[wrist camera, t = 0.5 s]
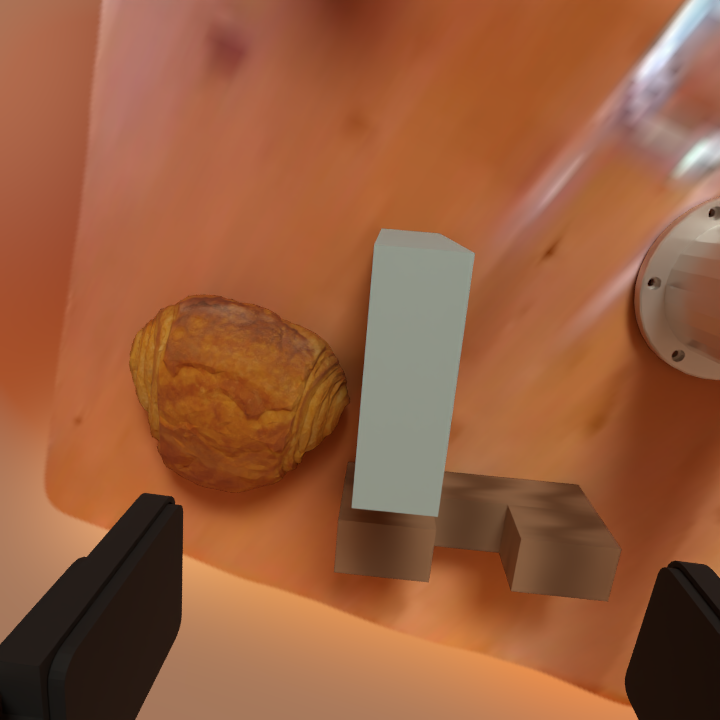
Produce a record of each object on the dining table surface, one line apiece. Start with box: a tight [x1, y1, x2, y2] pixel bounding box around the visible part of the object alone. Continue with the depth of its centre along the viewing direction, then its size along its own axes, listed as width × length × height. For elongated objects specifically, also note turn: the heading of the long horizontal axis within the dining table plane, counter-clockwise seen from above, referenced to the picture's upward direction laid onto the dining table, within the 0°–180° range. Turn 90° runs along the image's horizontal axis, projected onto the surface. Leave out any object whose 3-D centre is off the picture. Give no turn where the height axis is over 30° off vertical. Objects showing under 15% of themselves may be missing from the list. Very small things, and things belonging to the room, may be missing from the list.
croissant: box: [129, 295, 350, 493], centre depth 37 cm, size 14×16×8 cm
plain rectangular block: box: [352, 229, 475, 517], centre depth 30 cm, size 12×4×16 cm, turn 175°
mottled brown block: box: [334, 462, 621, 601], centre depth 38 cm, size 18×4×8 cm, turn 85°
